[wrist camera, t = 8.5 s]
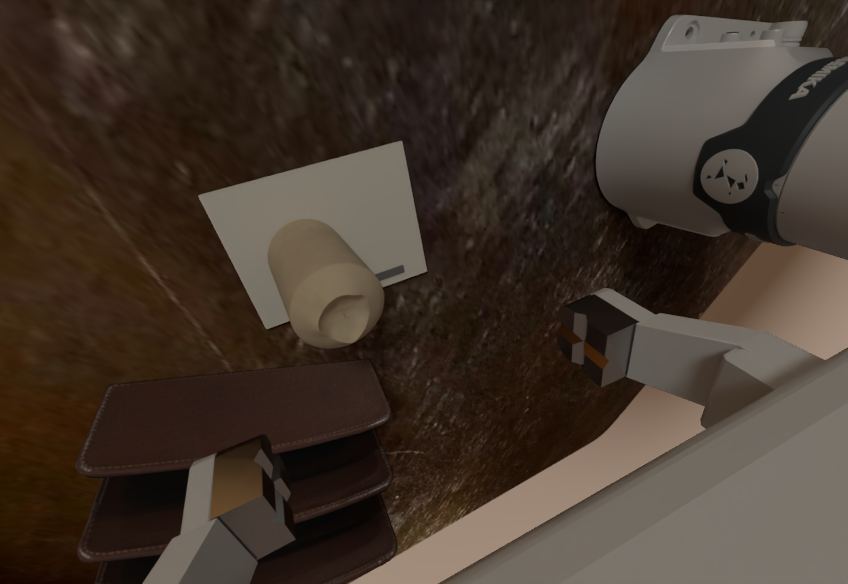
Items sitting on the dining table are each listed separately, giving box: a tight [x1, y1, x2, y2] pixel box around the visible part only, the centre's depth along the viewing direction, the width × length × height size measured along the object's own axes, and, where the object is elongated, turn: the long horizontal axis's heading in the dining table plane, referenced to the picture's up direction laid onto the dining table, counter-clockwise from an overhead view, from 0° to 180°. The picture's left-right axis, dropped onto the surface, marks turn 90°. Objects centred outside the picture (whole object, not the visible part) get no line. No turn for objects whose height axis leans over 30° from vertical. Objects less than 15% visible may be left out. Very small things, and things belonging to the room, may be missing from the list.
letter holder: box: [76, 359, 397, 584], centre depth 28 cm, size 10×20×14 cm, turn 80°
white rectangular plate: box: [198, 141, 427, 329], centre depth 29 cm, size 14×11×1 cm
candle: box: [268, 219, 384, 349], centre depth 25 cm, size 6×6×10 cm
